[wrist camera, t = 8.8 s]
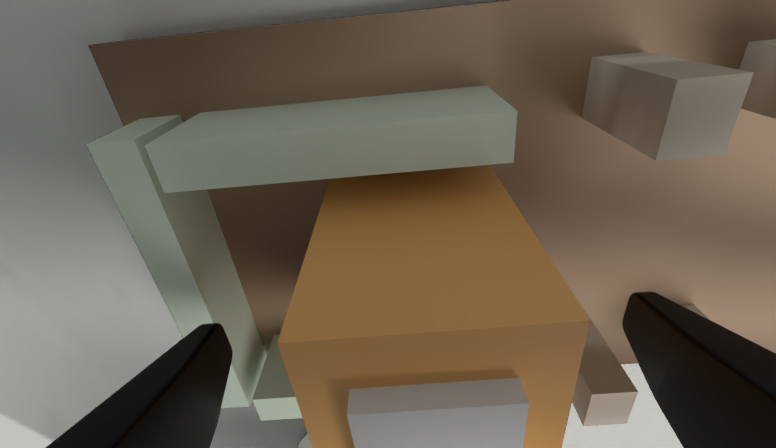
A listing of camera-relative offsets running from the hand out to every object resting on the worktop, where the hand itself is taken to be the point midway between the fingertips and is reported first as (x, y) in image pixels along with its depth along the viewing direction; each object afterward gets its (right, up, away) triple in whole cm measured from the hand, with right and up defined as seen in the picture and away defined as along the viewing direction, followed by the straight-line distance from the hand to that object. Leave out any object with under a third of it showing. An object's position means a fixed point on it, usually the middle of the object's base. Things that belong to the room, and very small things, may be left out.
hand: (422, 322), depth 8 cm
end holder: (-2, +1, +3) cm, 4 cm away
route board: (+5, +3, +4) cm, 7 cm away
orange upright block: (0, +2, +3) cm, 3 cm away
